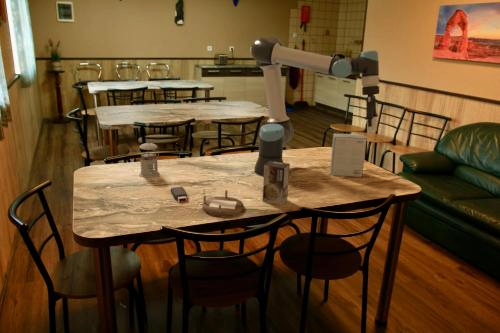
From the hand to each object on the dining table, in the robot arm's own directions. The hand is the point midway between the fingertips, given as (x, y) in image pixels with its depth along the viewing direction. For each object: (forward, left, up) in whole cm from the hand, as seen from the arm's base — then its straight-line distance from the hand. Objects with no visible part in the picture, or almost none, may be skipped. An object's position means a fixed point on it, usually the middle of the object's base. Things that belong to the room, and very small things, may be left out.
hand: (372, 132), depth 189 cm
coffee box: (+7, -53, -24) cm, 59 cm away
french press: (-41, -95, -24) cm, 106 cm away
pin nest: (+7, -76, -24) cm, 80 cm away
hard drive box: (-12, -3, -24) cm, 27 cm away
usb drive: (-10, -89, -25) cm, 93 cm away
